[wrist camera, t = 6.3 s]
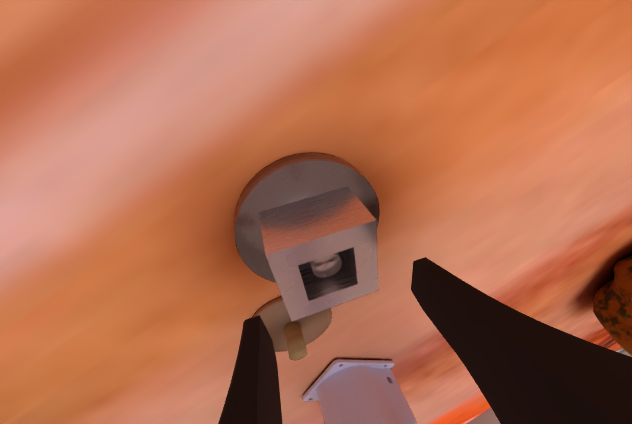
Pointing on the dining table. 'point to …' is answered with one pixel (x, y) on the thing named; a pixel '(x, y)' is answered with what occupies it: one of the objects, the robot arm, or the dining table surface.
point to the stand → (292, 327)
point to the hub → (289, 186)
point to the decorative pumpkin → (617, 304)
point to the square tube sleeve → (321, 250)
